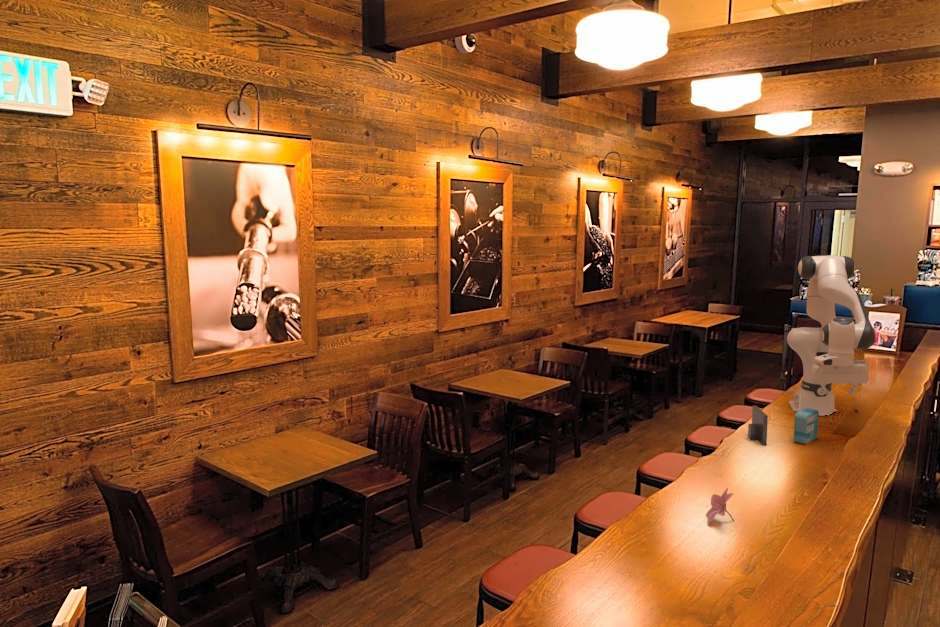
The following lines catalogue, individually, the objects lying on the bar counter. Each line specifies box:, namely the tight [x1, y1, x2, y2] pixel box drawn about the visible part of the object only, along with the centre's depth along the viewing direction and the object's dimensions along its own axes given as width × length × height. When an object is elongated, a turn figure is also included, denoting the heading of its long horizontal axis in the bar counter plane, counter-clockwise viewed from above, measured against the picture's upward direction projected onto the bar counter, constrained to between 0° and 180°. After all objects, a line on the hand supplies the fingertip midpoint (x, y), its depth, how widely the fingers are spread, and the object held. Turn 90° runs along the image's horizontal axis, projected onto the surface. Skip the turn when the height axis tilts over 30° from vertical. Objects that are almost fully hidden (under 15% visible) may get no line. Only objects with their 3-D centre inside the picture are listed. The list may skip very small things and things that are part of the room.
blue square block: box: [793, 408, 819, 445], centre depth 249 cm, size 12×4×12 cm, turn 131°
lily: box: [705, 487, 735, 526], centre depth 185 cm, size 12×12×10 cm
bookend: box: [747, 405, 769, 446], centre depth 252 cm, size 14×4×12 cm, turn 172°
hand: (838, 393), depth 246 cm, fingers open, 8 cm apart
